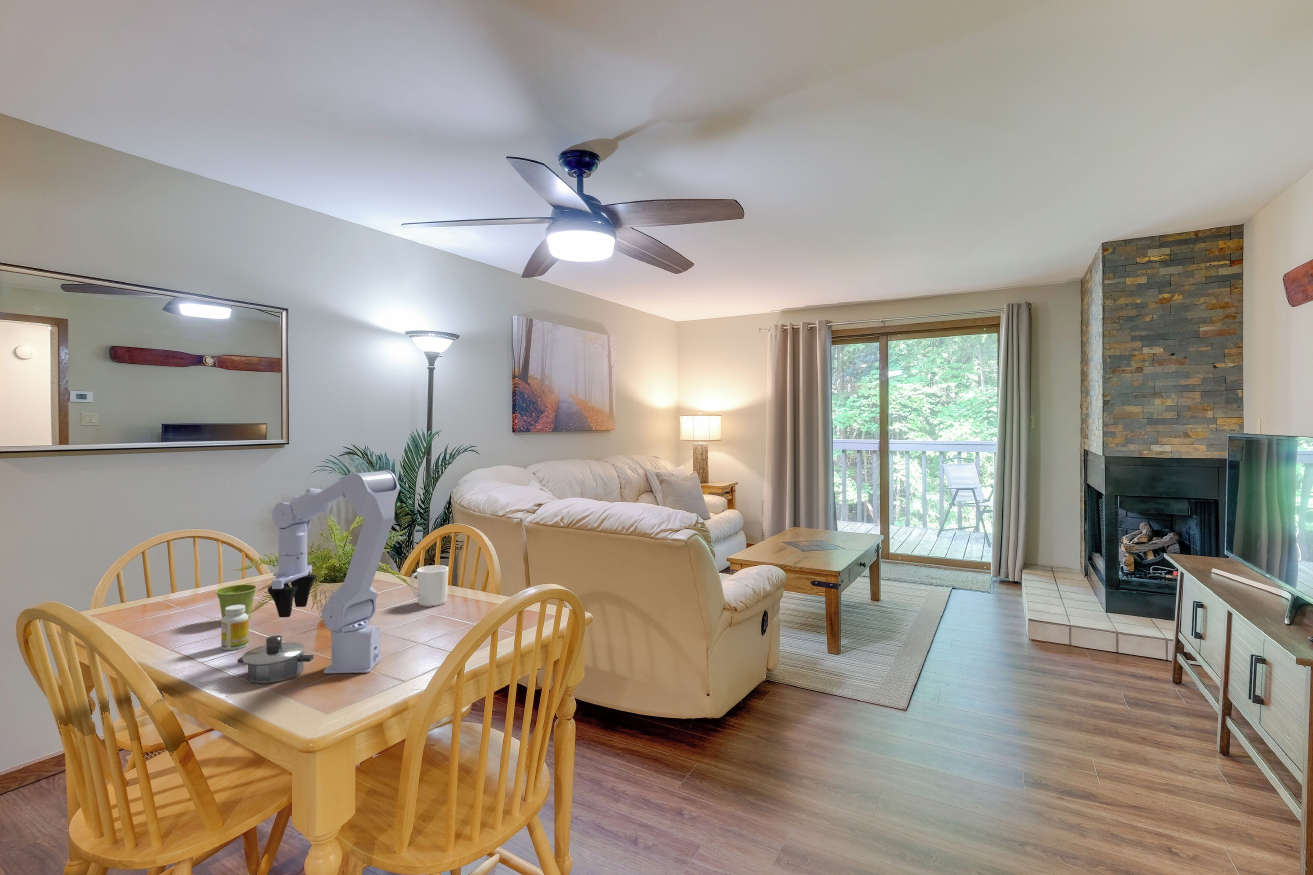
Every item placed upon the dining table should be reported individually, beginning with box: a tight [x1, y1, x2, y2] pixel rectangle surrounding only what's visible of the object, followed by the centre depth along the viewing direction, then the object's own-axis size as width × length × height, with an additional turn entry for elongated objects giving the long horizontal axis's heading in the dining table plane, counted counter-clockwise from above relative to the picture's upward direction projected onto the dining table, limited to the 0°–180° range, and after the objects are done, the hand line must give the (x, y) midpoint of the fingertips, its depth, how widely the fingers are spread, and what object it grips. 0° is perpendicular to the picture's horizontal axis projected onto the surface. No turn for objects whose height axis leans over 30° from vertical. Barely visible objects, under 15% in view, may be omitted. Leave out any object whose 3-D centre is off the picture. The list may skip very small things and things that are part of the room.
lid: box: [241, 635, 305, 666], centre depth 131 cm, size 11×11×5 cm
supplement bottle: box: [220, 605, 250, 651], centre depth 147 cm, size 5×5×10 cm
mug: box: [410, 564, 449, 608], centre depth 182 cm, size 11×9×10 cm
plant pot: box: [214, 583, 258, 620], centre depth 166 cm, size 9×9×9 cm
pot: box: [237, 653, 314, 685], centre depth 131 cm, size 15×10×4 cm
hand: (293, 611), depth 142 cm, fingers open, 7 cm apart
